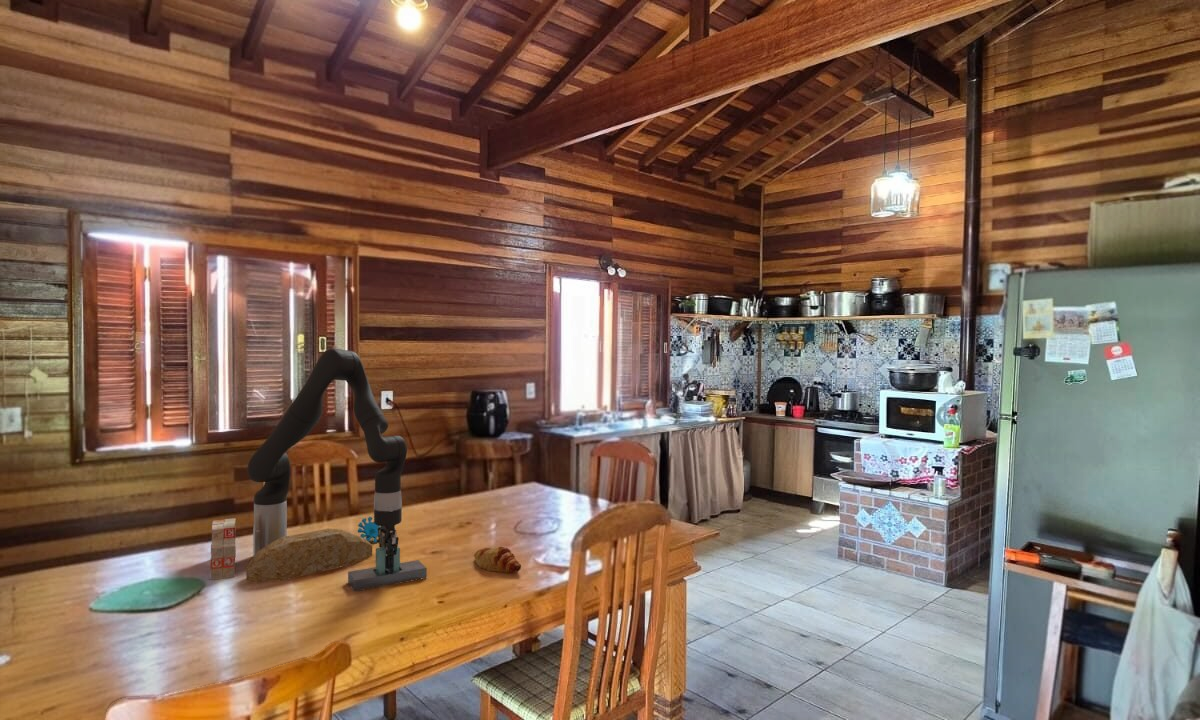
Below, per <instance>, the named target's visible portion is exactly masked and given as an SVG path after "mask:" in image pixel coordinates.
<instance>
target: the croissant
mask: <svg viewBox="0 0 1200 720" xmlns="http://www.w3.org/2000/svg"><path fill="white" fill-rule="evenodd" d="M473 557H474V560H475V562H476V564H477V566H479V567H480V569H481V568H482V570H486V569H488V570H490V571H489V572H492V571H494V572H495V571H498V572H499V573H503V572H505V574H510V573H511V574H513V573H514V574H515V573H517V572H519V571H520V570H521V568H522V564H521V563H520V562H519V561H518V560H517V559H516V556H515V554H514V553H512V552H511V549H509V548H508V547H506V546H503V545H500V546H493V547H486V548H481V549H478V550H477V551H475V553H474V555H473ZM488 570H487V571H488ZM498 572H497V573H498Z"/></svg>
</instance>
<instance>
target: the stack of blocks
mask: <svg viewBox="0 0 1200 720" xmlns="http://www.w3.org/2000/svg"><path fill="white" fill-rule="evenodd" d="M236 548H237V547H236V517H235V518H225V519H218V520H217V519H216V520H212V525H211V543H210V562H209V563H210V568H209V569H210V581H215V580H220V579H221V578H222V579H228V578H234V577H236V576H235V574H236V559H235V558H236V557H237V549H236ZM214 579H215V580H214ZM222 579H221V580H222Z"/></svg>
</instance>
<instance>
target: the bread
mask: <svg viewBox="0 0 1200 720" xmlns="http://www.w3.org/2000/svg"><path fill="white" fill-rule="evenodd" d="M370 556H371V557H373V544H371V542H370V541H369V542H368V541H367V540H366V538H365V537H364V538H362V537H360V535H357V534H355V533H352V532H350V531H346V530H343V529H337V528H325V529H318V530H313V531H307V532H302V533H296V534H293V535H287V536H286V537H281V538H279V539H277V540H276V541H274V542H272V543H271V544H269V545H267V546H266V547H264V548H263V549H261V550H259V551H258V552H257V553H256V554H255V555H254V556H253V555H252V557H251V559H250V561H249V562H248V564H247V567H246V571H245V572H246V573H245V574H246V579H245V580H246V581H247V582H248V583H249V582H250V583H252V582H255V584H256V582H257V583H258V584H259V583H260V584H261V583H269V581H270V582H277V581H278V580H280V581H285V579H286V580H289V579H288V578H290V579H293V577H295V578H298V577H297V576H299V577H302V575H303V576H308V575H312V574H316V573H319V572H320V571H321V572H324V571H325V572H326V571H329V570H333V568H334V569H337V567H338V568H341V567H340V566H343V567H346V566H345V565H347V566H350V565H349V564H351V565H353V564H356V563H359V562H361V560H362V561H365V560H366V558H367V559H369V558H371V557H370ZM368 557H369V558H368ZM364 559H365V560H364ZM358 561H359V562H358ZM355 562H356V563H355ZM352 563H353V564H352ZM321 572H320V573H321ZM307 574H308V575H307ZM278 582H279V581H278ZM250 583H249V584H250ZM252 584H253V583H252Z"/></svg>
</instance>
